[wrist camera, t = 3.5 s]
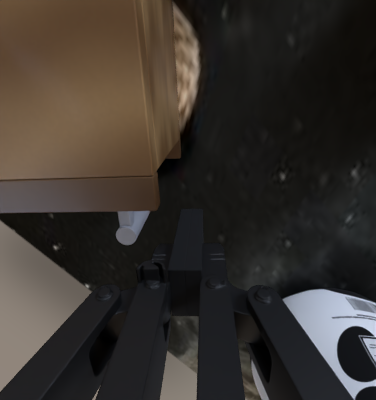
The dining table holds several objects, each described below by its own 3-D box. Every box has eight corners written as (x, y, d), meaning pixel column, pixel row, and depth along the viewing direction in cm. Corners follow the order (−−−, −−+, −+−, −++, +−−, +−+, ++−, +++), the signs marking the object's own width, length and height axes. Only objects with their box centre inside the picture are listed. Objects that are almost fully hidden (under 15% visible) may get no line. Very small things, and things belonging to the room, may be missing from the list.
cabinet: (-63, 2, 20) (-468, -152, 8) (171, -19, 18) (108, -252, 6) (-5, 162, 25) (-196, 216, 13) (181, 156, 24) (156, 211, 12)
